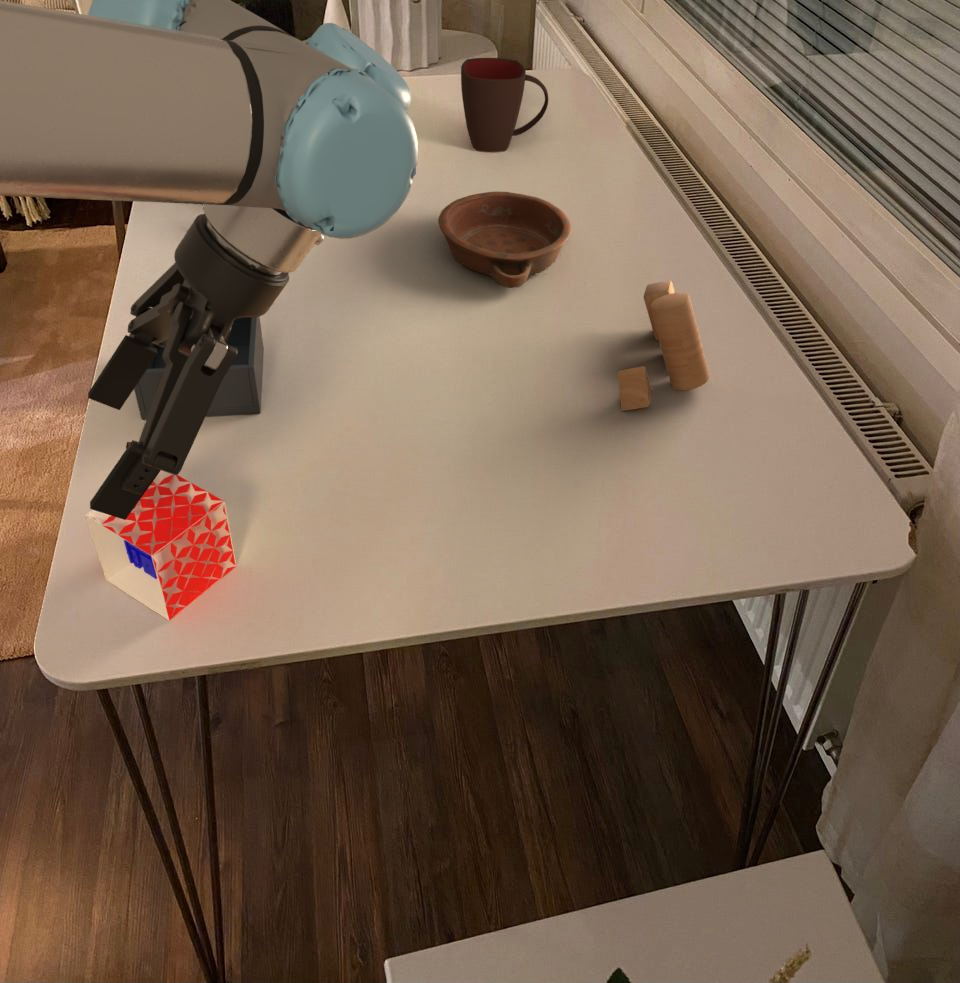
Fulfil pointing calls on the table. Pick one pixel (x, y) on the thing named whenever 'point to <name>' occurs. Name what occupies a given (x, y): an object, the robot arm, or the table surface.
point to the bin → (237, 385)
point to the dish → (504, 234)
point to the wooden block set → (667, 347)
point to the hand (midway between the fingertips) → (105, 453)
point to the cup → (495, 101)
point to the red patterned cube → (166, 545)
